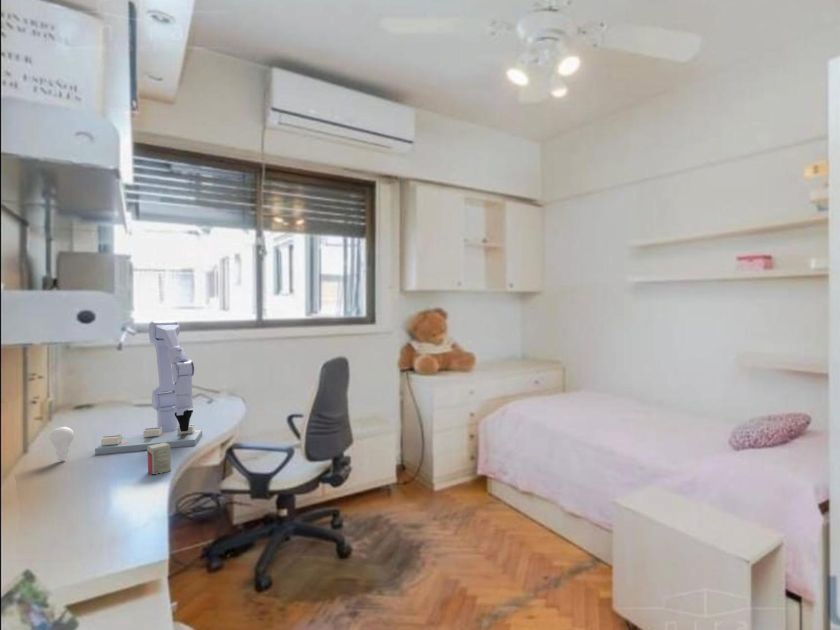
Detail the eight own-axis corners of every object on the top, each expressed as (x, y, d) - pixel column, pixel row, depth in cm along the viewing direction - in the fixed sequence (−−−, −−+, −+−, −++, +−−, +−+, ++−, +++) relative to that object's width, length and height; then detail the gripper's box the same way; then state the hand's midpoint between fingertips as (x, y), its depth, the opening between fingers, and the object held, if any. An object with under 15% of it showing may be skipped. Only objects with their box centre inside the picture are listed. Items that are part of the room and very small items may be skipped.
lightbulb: (61, 464, 144) (60, 429, 144) (45, 464, 146) (44, 429, 146) (79, 458, 150) (78, 425, 150) (63, 457, 152) (63, 424, 152)
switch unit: (111, 442, 169) (110, 437, 169) (202, 434, 178) (202, 429, 178) (95, 454, 154) (95, 448, 154) (195, 445, 163) (195, 439, 163)
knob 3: (179, 431, 174) (179, 424, 174) (194, 430, 176) (194, 423, 176) (177, 434, 170) (177, 427, 170) (192, 432, 172) (192, 426, 172)
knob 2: (146, 434, 171) (146, 427, 171) (161, 433, 172) (161, 426, 172) (143, 437, 167) (143, 430, 167) (159, 435, 168) (159, 428, 168)
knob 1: (105, 442, 161) (105, 435, 161) (121, 441, 162) (121, 433, 162) (101, 445, 157) (101, 438, 157) (118, 444, 159) (117, 436, 159)
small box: (166, 468, 139) (165, 441, 139) (171, 471, 136) (170, 444, 136) (147, 472, 136) (146, 445, 136) (152, 475, 133) (151, 448, 133)
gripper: (175, 391, 176) (176, 427, 176) (166, 398, 162) (167, 436, 162) (196, 390, 178) (196, 425, 178) (188, 396, 164) (189, 435, 164)
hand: (184, 431), depth 170 cm, fingers closed
